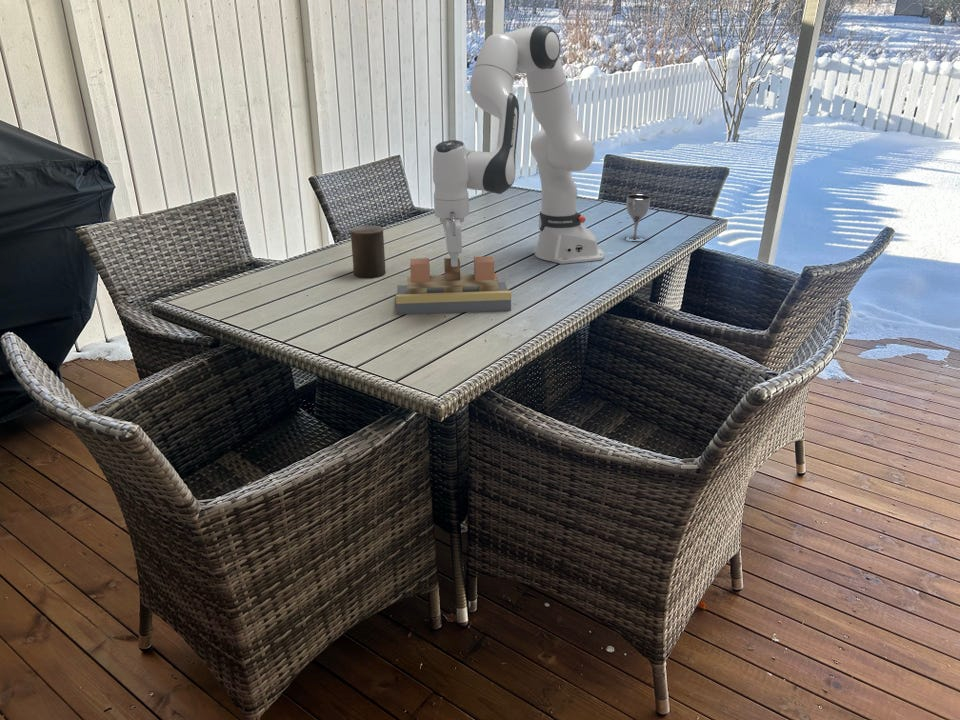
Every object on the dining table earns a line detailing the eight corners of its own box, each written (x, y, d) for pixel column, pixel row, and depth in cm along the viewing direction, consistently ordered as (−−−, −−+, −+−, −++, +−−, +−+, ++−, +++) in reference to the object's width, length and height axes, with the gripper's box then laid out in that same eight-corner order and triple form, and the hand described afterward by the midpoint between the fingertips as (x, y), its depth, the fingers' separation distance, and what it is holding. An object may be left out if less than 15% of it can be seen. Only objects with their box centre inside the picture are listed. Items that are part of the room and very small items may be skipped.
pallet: (495, 287, 186) (496, 255, 182) (498, 294, 181) (498, 262, 177) (408, 290, 184) (406, 258, 180) (408, 297, 179) (406, 264, 175)
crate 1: (429, 275, 182) (429, 258, 180) (430, 282, 178) (429, 263, 176) (411, 276, 182) (410, 258, 180) (411, 282, 178) (410, 264, 175)
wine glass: (621, 241, 236) (624, 198, 230) (625, 235, 243) (629, 193, 236) (644, 243, 234) (648, 200, 227) (647, 237, 240) (652, 195, 234)
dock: (504, 292, 191) (504, 275, 189) (510, 310, 179) (511, 292, 176) (398, 295, 189) (397, 278, 187) (396, 314, 176) (395, 296, 174)
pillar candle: (371, 280, 200) (368, 230, 194) (347, 274, 205) (343, 225, 199) (392, 271, 208) (389, 223, 201) (368, 266, 212) (364, 219, 206)
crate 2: (492, 273, 184) (492, 256, 181) (494, 280, 179) (494, 261, 177) (474, 274, 183) (473, 256, 181) (475, 280, 179) (475, 262, 177)
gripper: (466, 218, 163) (468, 272, 169) (461, 198, 181) (462, 248, 188) (440, 219, 163) (443, 273, 169) (437, 199, 181) (440, 249, 187)
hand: (453, 260), depth 178 cm, fingers open, 8 cm apart
